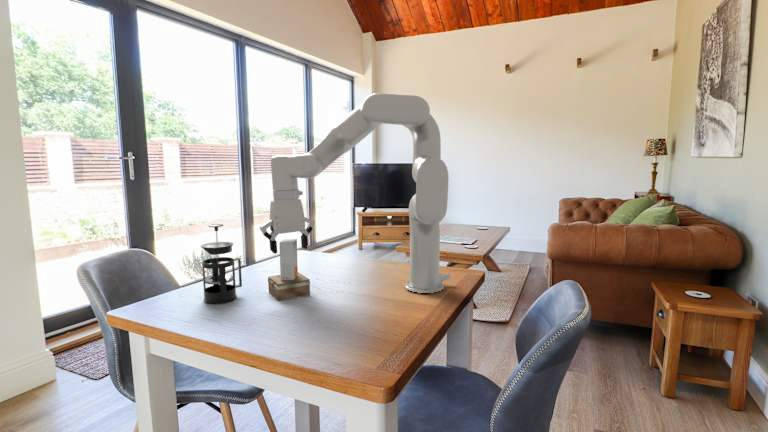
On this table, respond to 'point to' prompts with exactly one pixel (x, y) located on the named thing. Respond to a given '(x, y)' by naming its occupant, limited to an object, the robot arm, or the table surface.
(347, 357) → the table surface
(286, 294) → the gift box
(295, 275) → the skincare box
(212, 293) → the french press
